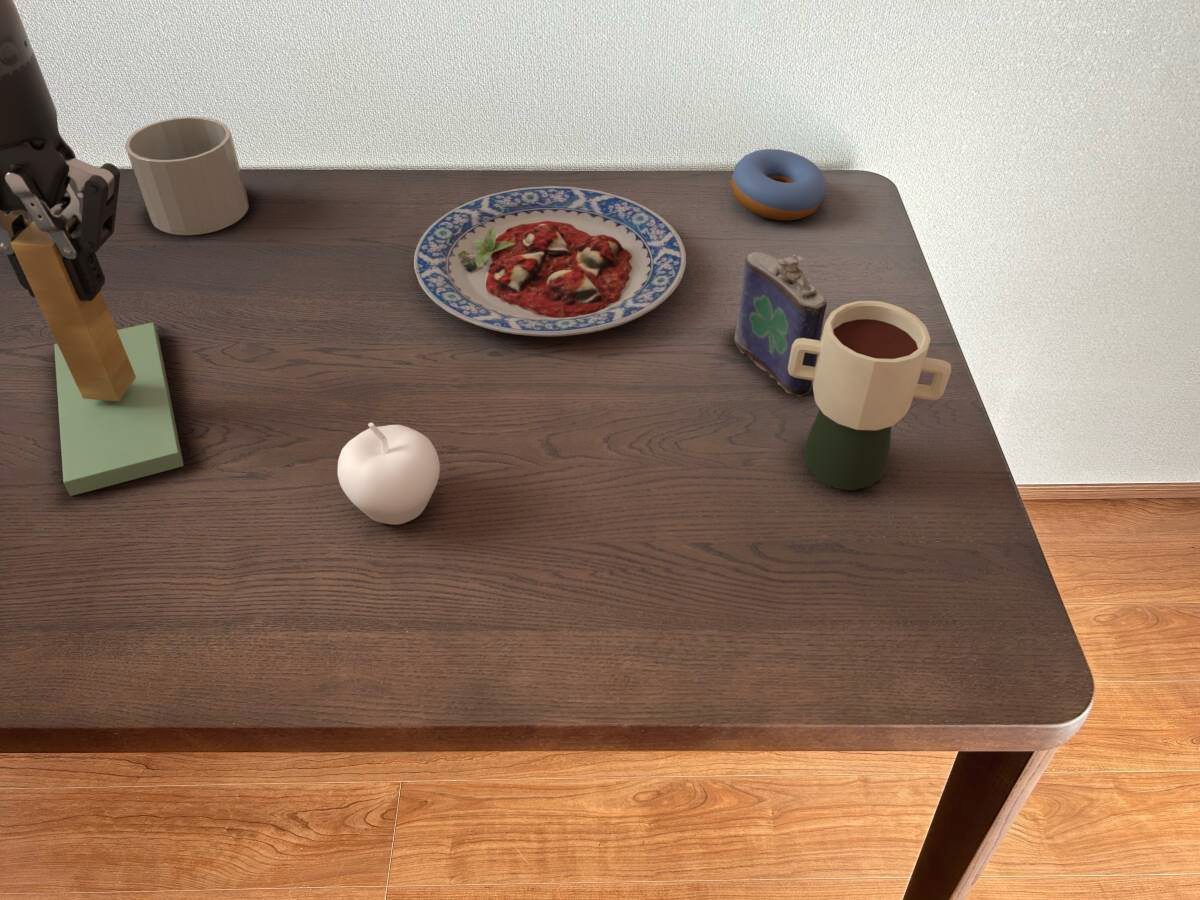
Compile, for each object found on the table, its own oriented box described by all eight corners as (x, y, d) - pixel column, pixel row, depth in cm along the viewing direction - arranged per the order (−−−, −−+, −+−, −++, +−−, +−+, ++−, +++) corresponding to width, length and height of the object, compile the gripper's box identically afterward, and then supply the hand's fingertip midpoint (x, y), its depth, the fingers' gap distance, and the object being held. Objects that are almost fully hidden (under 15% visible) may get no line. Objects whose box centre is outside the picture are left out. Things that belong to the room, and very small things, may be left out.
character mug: (915, 448, 76) (959, 312, 67) (913, 512, 71) (961, 374, 62) (776, 424, 78) (802, 288, 69) (765, 485, 73) (791, 347, 64)
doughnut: (841, 213, 102) (849, 173, 99) (765, 237, 99) (771, 196, 96) (784, 173, 109) (790, 134, 106) (710, 194, 105) (714, 154, 102)
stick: (82, 398, 76) (9, 243, 66) (100, 374, 78) (32, 220, 68) (119, 401, 76) (51, 246, 66) (136, 377, 78) (73, 223, 68)
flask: (727, 341, 86) (742, 235, 79) (754, 332, 87) (770, 226, 80) (793, 400, 80) (815, 292, 73) (821, 389, 81) (845, 282, 74)
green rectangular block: (60, 357, 83) (53, 343, 82) (158, 335, 86) (153, 321, 85) (70, 496, 71) (63, 482, 70) (184, 466, 74) (178, 452, 73)
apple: (365, 466, 74) (348, 386, 68) (456, 479, 73) (446, 398, 68) (332, 534, 69) (310, 453, 63) (428, 548, 68) (415, 467, 63)
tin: (134, 232, 98) (107, 158, 92) (174, 185, 105) (152, 114, 100) (227, 238, 97) (206, 164, 92) (262, 190, 104) (244, 119, 99)
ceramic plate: (725, 244, 98) (728, 217, 96) (608, 388, 81) (608, 360, 79) (507, 183, 106) (506, 158, 104) (360, 302, 90) (355, 275, 88)
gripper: (104, 38, 61) (182, 271, 73) (-107, 27, 62) (4, 259, 74) (42, 87, 56) (137, 330, 68) (-188, 74, 57) (-54, 316, 68)
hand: (67, 292), depth 71 cm, fingers closed on stick, 3 cm apart
